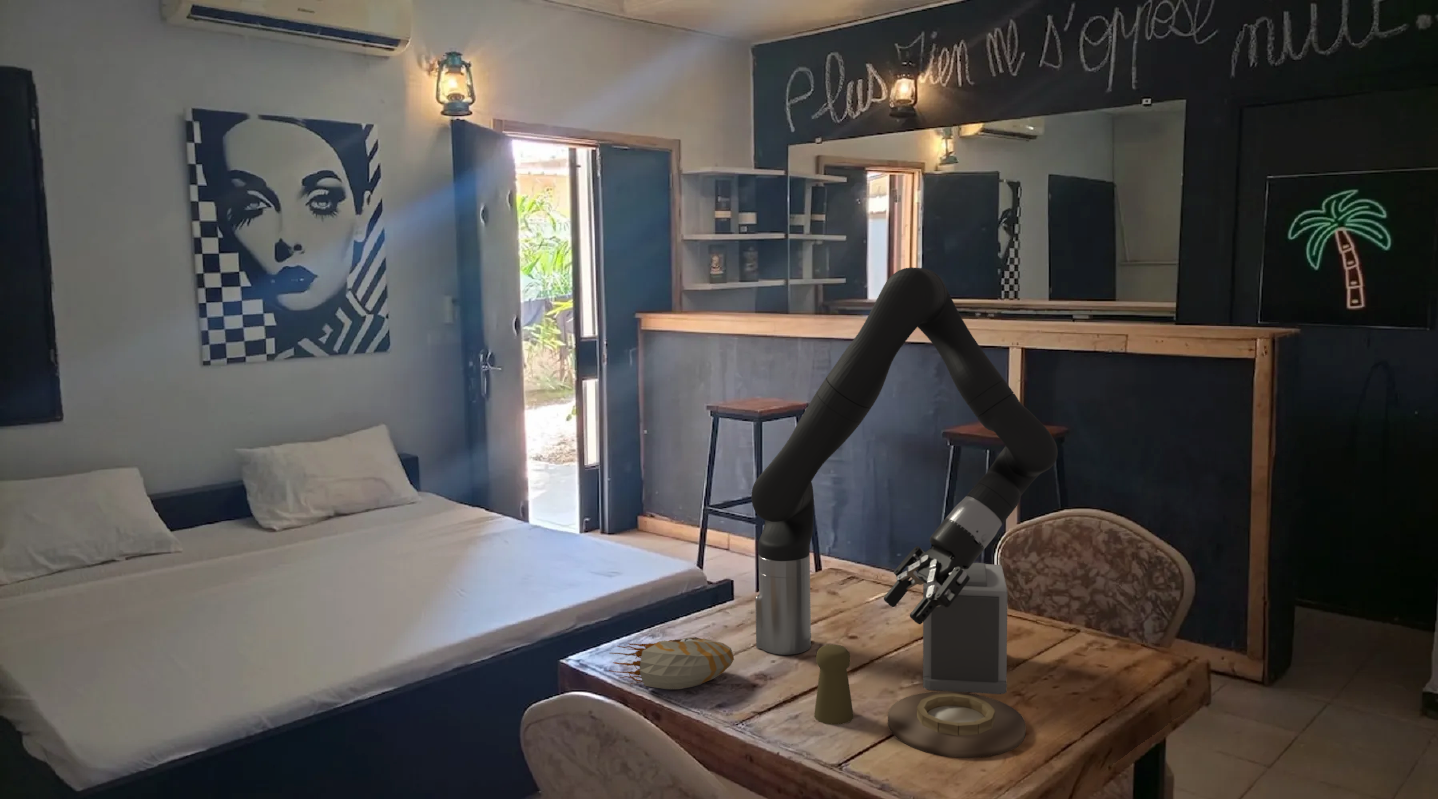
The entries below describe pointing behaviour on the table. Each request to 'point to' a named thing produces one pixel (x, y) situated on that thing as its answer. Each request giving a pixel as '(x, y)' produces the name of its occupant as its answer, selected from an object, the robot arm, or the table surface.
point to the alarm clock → (969, 636)
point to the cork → (833, 686)
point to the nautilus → (679, 662)
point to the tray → (956, 724)
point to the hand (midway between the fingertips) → (900, 612)
